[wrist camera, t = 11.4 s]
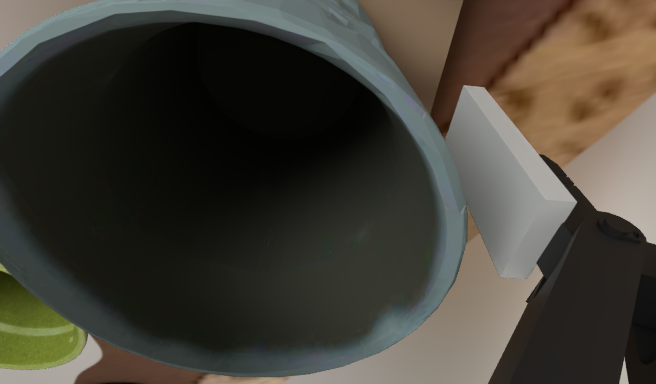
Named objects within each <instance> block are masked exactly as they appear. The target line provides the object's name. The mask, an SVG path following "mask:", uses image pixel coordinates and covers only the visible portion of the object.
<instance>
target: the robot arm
mask: <svg viewBox="0 0 656 384" xmlns="http://www.w3.org/2000/svg"><path fill="white" fill-rule="evenodd" d="M445 142H446V144H447V147H448V149H449V151H450V154H451V156H452V159H453V161H454V163H455V166H456V168H457V171H458V173H459V177H460V181H461V185H462V190H463V194H464V198H465V201H466V203H467V205H468V208H469V210H470V212H471V214H472V217H473V219H474V221H475V223H476V225H477V228H478V230H479V232H480V234H481V236H482V239H483V241H484V243H485V245H486V248H487V250H488V252H489V254H490V256H491V259H492V261H493V263H494V265H495V267H496V270H497V272H498V274H499V276H500V277H502V278H519V279H527V278H528V277H529V275H530V274H531V272H532V271H533V269H534V267H535V266H536V264H537V265H538V266H539V268H540V270H541V272H542V273H543V275H544V276H543V277H542V279H541V280H540V282H539V283H538V284H537V286H536V287H535V289H534V290H533V292H532V293H531V295H530V296H529V297H528V299H527V301H526V302H527V303H528V305H527V307H526V309H525V311H524V313H523V315H522V317H521V319H520V321H519V323H518V325H517V327H516V329H515V331H514V333H513V335H512V337H511V339H510V341H509V343H508V345H507V347H506V349H505V351H504V353H503V355H502V357H501V359H500V361H499V363H498V365H497V367H496V369H495V371H494V373H493V375H492V377H491V379H490V381H489V383H488V384H619V381H620V376H621V371H622V366H623V361H624V356H625V362H626V369H627V375H628V382H629V384H656V245H655V244H652V243H648V242H647V241H646V237H645V236H644V235H643V233H642V232H641V231H640V230H639V229H638V228H637V227H636V226H634V225H633V224H631V223H630V222H628V221H627V220H625V219H623V218H621V217H619V216H616V215H613V214H610V213H607V212H601V211H597V210H596V209H595V208H594V206H593V205H592V204H591V203H590V202H589V201H588V199H587V198H586V197H585V196H584V195H583V194H582V192H581V191H580V190H579V189H578V188H577V187H576V186H574V183H573V182H572V181H571V180H570V178H569V177H566V176H567V175H566V174H565V173H564V171H563V170H562V169H561V168H560V167H559V166H558V164H556V163H555V162H553V161H552V160H550V159H549V158H547V157H546V156H545V155H541V154H538V153H537V152H536V151H535V150H534V148H533V147H532V146H531V145H530V143H529V142H528V141H527V140H526V139H525V137H524V136H523V135H522V134H521V132H520V131H519V130H518V129H517V127H516V126H515V125H514V124H513V123H512V121H511V120H510V119H509V118H508V116H507V115H506V114H505V113H504V112H503V110H502V109H501V108H500V107H499V105H498V104H497V103H496V102H495V100H494V99H493V98H492V97H491V96H490V94H489V93H488V92H487V91H486V89H485V88H484V87H476V86H465V85H463V88H462V91H461V94H460V97H459V100H458V103H457V106H456V109H455V112H454V115H453V118H452V121H451V124H450V127H449V130H448V133H447V136H446V139H445ZM112 384H121V383H112Z"/></svg>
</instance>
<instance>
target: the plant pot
mask: <svg viewBox="0 0 656 384" xmlns="http://www.w3.org/2000/svg"><path fill="white" fill-rule="evenodd" d="M87 337H88V333H87V332H85V331H84V330H82V329H80V328H79V327H77V326H76V325H74V324H72V323H71V322H69V321H68V320H66V319H65V318H63V317H62V316H60V315H59V314H58V313H56V312H55V311H54V310H52V309H51V308H50V307H48V306H47V305H46V304H44V303H43V302H42V301H40V300H39V299H38V298H36V297H35V296H34V295H32V294H31V293H30V292H29V291H28V290H27V289H26V288H25V287H24V286H22V285H21V284H20V283H19V282H18V281H17V280H16V279H15V278H14V277H13V276H12V275H11V274H10V273H9V272H8V271H7V270H6V269H5V268H4V266H3V265H2V264H1V263H0V368H5V369H18V370H36V369H46V368H52V367H56V366H59V365H63V364H66V363H68V362H70V361H72V360H73V359H75V358H76V357H77V356H79V355H80V353H81V352H82V350H83V349H84V347H85V345H86V342H87Z"/></svg>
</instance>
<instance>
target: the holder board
mask: <svg viewBox="0 0 656 384" xmlns="http://www.w3.org/2000/svg"><path fill="white" fill-rule="evenodd" d="M357 1H358V2H359V3H360V5H361V6H362V7H363V9H364V10H365V11H366V13H367V15H368V16H369V18H370V20H371V22H372V24H373V27H374V29H375V31H376V32H377V34H378V36H379V38H380V40H381V43H382V45H383V47H384V50H385V51H386V53H387V55H388V56H389V57H390V58H391V59H392V60H393V61H394V62H395V64H396V65H397V67H398V68H399V69H400V71H401V72H402V74H403V75H404V77H405V78H406V80H407V82H408V83H409V85H410V86H411V88H412V89H413V91H414V92H415V94H416V95H417V97H418V98H419V100H420V101H421V103H422V104H423V106H424V107H425V109H426V110H427V112H428V113H429V115H430V113H431V109H432V106H433V103H434V99H435V96H436V92H437V89H438V85H439V82H440V79H441V75H442V72H443V68H444V65H445V61H446V58H447V55H448V51H449V48H450V44H451V41H452V37H453V34H454V31H455V27H456V24H457V20H458V17H459V13H460V10H461V7H462V3H463V0H357Z"/></svg>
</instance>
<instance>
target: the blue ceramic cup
mask: <svg viewBox="0 0 656 384" xmlns="http://www.w3.org/2000/svg"><path fill="white" fill-rule="evenodd" d="M467 228H468V215H467V207H466V202H465V198H464V194H463V190H462V185H461V181H460V177H459V173H458V171H457V168H456V166H455V163H454V161H453V159H452V156H451V154H450V151H449V149H448V147H447V144H446V142H445V140H444V138H443V136H442V135H441V133H440V131H439V129H438V127H437V125H436V124H435V122H434V121H433V119H432V118H431V116H430V115H429V113H428V112H427V110H426V109H425V107H424V106H423V104H422V103H421V101H420V100H419V98H418V97H417V95H416V94H415V92H414V91H413V89H412V88H411V86H410V85H409V83H408V82H407V80H406V78H405V77H404V75H403V74H402V72H401V71H400V69H399V68H398V67H397V65H396V64H395V62H394V61H393V60H392V59H391V58H390V57H389V56H388V55H387V53H386V51H385V50H384V47H383V45H382V43H381V40H380V38H379V36H378V34H377V32H376V31H375V29H374V27H373V24H372V22H371V20H370V18H369V16H368V15H367V13H366V11H365V10H364V9H363V7H362V6H361V5H360V3H359V2H358V1H357V0H99V1H96V2H92V3H89V4H85V5H81V6H78V7H75V8H72V9H70V10H67V11H65V12H62V13H60V14H58V15H56V16H53V17H51V18H48V19H47V20H45V21H43V22H41V23H40V24H38V25H36V26H34V27H33V28H31V29H29V30H27V31H26V32H24V33H23V34H22V35H20V36H19V37H18V38H17V39H15V40H14V41H13V42H12V43H11V44H9V45H8V46H7V47H5V48H4V49H3V50H2V51H1V52H0V263H1V264H2V265H3V266H4V268H5V269H6V270H7V271H8V272H9V273H10V274H11V275H12V276H13V277H14V278H15V279H16V280H17V281H18V282H19V283H20V284H21V285H22V286H24V287H25V288H26V289H27V290H28V291H29V292H30V293H31V294H32V295H34V296H35V297H36V298H38V299H39V300H40V301H42V302H43V303H44V304H46V305H47V306H48V307H50V308H51V309H52V310H54V311H55V312H56V313H58V314H59V315H60V316H62V317H63V318H65V319H66V320H68V321H69V322H71V323H72V324H74V325H76V326H77V327H79V328H80V329H82V330H84V331H85V332H87V333H89V334H91V335H93V336H95V337H97V338H99V339H101V340H103V341H105V342H107V343H109V344H111V345H113V346H115V347H117V348H119V349H121V350H124V351H127V352H130V353H133V354H136V355H138V356H141V357H144V358H147V359H150V360H153V361H156V362H158V363H161V364H165V365H168V366H172V367H176V368H179V369H185V370H191V371H197V372H202V373H209V374H217V375H224V376H233V377H286V376H295V375H305V374H311V373H316V372H321V371H325V370H330V369H334V368H338V367H343V366H345V365H348V364H351V363H353V362H356V361H359V360H361V359H364V358H367V357H369V356H372V355H375V354H377V353H380V352H381V351H383V350H385V349H387V348H388V347H390V346H392V345H393V344H395V343H397V342H398V341H400V340H401V339H403V338H404V337H406V336H407V335H409V334H410V333H412V332H413V331H415V330H416V329H417V328H418V327H419V326H420V325H421V324H422V323H423V322H424V321H425V320H426V319H427V318H428V317H429V316H430V315H431V314H432V313H433V312H434V311H435V310H436V309H437V308H438V307H439V305H440V304H441V302H442V300H443V299H444V297H445V296H446V294H447V293H448V291H449V290H450V288H451V287H452V285H453V284H454V282H455V280H456V277H457V274H458V271H459V268H460V264H461V261H462V257H463V254H464V250H465V246H466V243H467Z"/></svg>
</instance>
